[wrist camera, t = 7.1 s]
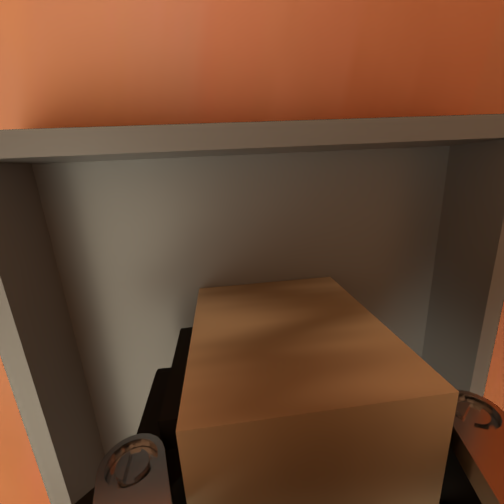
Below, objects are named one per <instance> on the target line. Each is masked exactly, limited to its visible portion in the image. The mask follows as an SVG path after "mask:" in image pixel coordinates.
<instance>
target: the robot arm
mask: <svg viewBox="0 0 504 504" xmlns="http://www.w3.org/2000/svg"><path fill="white" fill-rule="evenodd" d="M192 329H193V327H188V328H181V329H180V333H179V337H178V341H177V345H176V349H175V354H174V358H173V362H172V366H171V367H169V368H161V369H158V370H157V371H156V374H155V377H154V380H153V383H152V386H151V390H150V393H149V396H148V399H147V402H146V405H145V409H144V412H143V415H142V418H141V421H140V425H139V428H138V431H137V434H136V435H132V436H130V437H128V438H125V439H123V440H122V441H120V442H119V443H117V444H116V445H115V446H113V447H112V448H111V449H110V450H109V452H108V453H107V454H106V455H105V456H104V458H103V459H102V461H101V463H100V464H99V467H98V470H97V474H96V480H95V487H94V488H93V489H91V490H90V491H89V492H88V493H87V494H85V495H84V496H83V497H82V498H81V499H80V500H78V501H77V502H76V503H75V504H187V502H186V495H185V489H184V483H183V476H182V470H181V463H180V457H179V451H178V444H177V438H176V426H177V420H178V414H179V408H180V402H181V396H182V390H183V384H184V378H185V372H186V366H187V359H188V353H189V347H190V341H191V335H192ZM458 391H459V395H458V401H457V406H456V412H455V417H454V423H453V428H452V434H451V440H450V445H449V451H448V456H447V462H446V467H445V473H444V478H443V484H442V490H441V495H440V501H439V504H504V411H502V410H501V409H500V408H499V407H498V406H497V405H496V404H494V403H493V402H491V401H490V400H488V399H486V398H484V397H482V396H480V395H478V394H475V393H472V392H469V391H464V390H458Z"/></svg>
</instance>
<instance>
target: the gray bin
mask: <svg viewBox="0 0 504 504" xmlns="http://www.w3.org/2000/svg"><path fill="white" fill-rule="evenodd" d="M320 277H331V278H332V279H333V280H335V281H336V282H337V283H338V284H339V285H340V286H341V287H342V288H343V289H345V290H346V291H347V292H348V293H349V294H350V295H351V296H352V297H354V298H355V299H356V300H357V301H358V302H359V303H360V304H361V305H363V306H364V307H365V308H366V309H367V310H368V311H369V312H370V313H371V314H373V315H374V316H375V317H376V318H377V319H378V320H379V321H380V322H382V323H383V324H384V325H385V326H386V327H387V328H388V329H389V330H390V331H392V332H393V333H394V334H395V335H396V336H397V337H398V338H399V339H401V340H402V341H403V342H404V343H405V344H406V345H407V346H408V347H410V348H411V349H412V350H413V351H414V352H415V353H416V354H417V355H418V356H420V357H421V358H422V359H423V360H424V361H425V362H426V363H427V364H429V365H430V366H431V367H432V368H433V369H434V370H435V371H436V372H437V373H439V374H440V375H441V376H442V377H443V378H444V379H445V380H446V381H448V382H449V383H450V384H451V385H452V386H453V387H454V388H455V389H456V390H464V391H469V392H472V393H475V394H478V395H480V396H482V397H483V395H484V391H485V386H486V381H487V376H488V372H489V367H490V362H491V358H492V353H493V348H494V344H495V339H496V334H497V329H498V325H499V320H500V315H501V311H502V306H503V301H504V114H483V115H452V116H420V117H389V118H357V119H326V120H294V121H263V122H232V123H200V124H169V125H137V126H106V127H75V128H43V129H12V130H0V356H1V359H2V362H3V365H4V368H5V371H6V374H7V377H8V380H9V382H10V385H11V388H12V391H13V394H14V397H15V400H16V403H17V406H18V409H19V412H20V415H21V418H22V421H23V424H24V426H25V429H26V432H27V435H28V438H29V441H30V444H31V447H32V450H33V453H34V456H35V459H36V462H37V465H38V468H39V471H40V473H41V476H42V479H43V482H44V485H45V488H46V491H47V494H48V497H49V500H50V503H51V504H75V503H76V502H77V501H78V500H80V499H81V498H82V497H83V496H84V495H85V494H87V493H88V492H89V491H90V490H91V489H93V488H94V487H95V480H96V474H97V470H98V467H99V464H100V463H101V461H102V459H103V458H104V456H105V455H106V454H107V453H108V452H109V450H110V449H111V448H112V447H113V446H115V445H116V444H117V443H119V442H120V441H122V440H123V439H125V438H128V437H130V436H132V435H136V434H137V431H138V428H139V425H140V421H141V418H142V415H143V412H144V409H145V405H146V402H147V399H148V396H149V393H150V390H151V386H152V383H153V380H154V377H155V374H156V371H157V370H158V369H161V368H169V367H171V366H172V362H173V358H174V354H175V349H176V345H177V341H178V337H179V333H180V329H181V328H188V327H193V323H194V317H195V311H196V305H197V299H198V293H199V289H200V288H211V287H222V286H233V285H244V284H255V283H266V282H277V281H288V280H299V279H309V278H320Z"/></svg>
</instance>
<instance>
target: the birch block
mask: <svg viewBox="0 0 504 504" xmlns="http://www.w3.org/2000/svg"><path fill="white" fill-rule="evenodd" d="M458 395H459V391H458V390H456V389H455V388H454V387H453V386H452V385H451V384H450V383H449V382H448V381H446V380H445V379H444V378H443V377H442V376H441V375H440V374H439V373H437V372H436V371H435V370H434V369H433V368H432V367H431V366H430V365H429V364H427V363H426V362H425V361H424V360H423V359H422V358H421V357H420V356H418V355H417V354H416V353H415V352H414V351H413V350H412V349H411V348H410V347H408V346H407V345H406V344H405V343H404V342H403V341H402V340H401V339H399V338H398V337H397V336H396V335H395V334H394V333H393V332H392V331H390V330H389V329H388V328H387V327H386V326H385V325H384V324H383V323H382V322H380V321H379V320H378V319H377V318H376V317H375V316H374V315H373V314H371V313H370V312H369V311H368V310H367V309H366V308H365V307H364V306H363V305H361V304H360V303H359V302H358V301H357V300H356V299H355V298H354V297H352V296H351V295H350V294H349V293H348V292H347V291H346V290H345V289H343V288H342V287H341V286H340V285H339V284H338V283H337V282H336V281H335V280H333V279H332V278H331V277H320V278H309V279H299V280H288V281H277V282H266V283H255V284H244V285H233V286H222V287H211V288H200V289H199V293H198V299H197V305H196V311H195V317H194V323H193V329H192V335H191V341H190V347H189V353H188V359H187V366H186V372H185V378H184V384H183V390H182V396H181V402H180V408H179V414H178V420H177V426H176V438H177V444H178V451H179V457H180V463H181V470H182V476H183V483H184V489H185V495H186V502H187V504H439V501H440V495H441V490H442V484H443V478H444V473H445V467H446V462H447V456H448V451H449V445H450V440H451V434H452V428H453V423H454V417H455V412H456V406H457V401H458Z"/></svg>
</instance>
